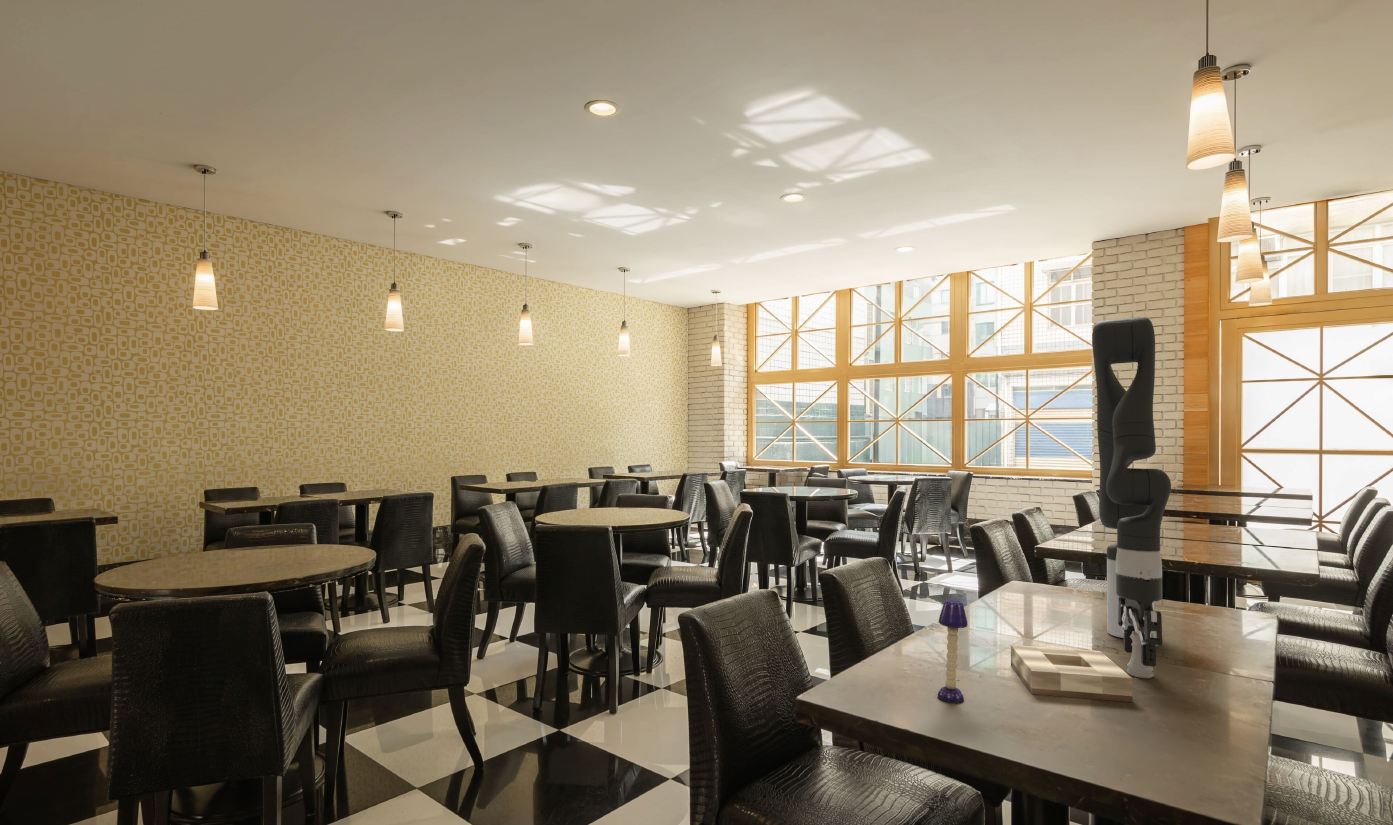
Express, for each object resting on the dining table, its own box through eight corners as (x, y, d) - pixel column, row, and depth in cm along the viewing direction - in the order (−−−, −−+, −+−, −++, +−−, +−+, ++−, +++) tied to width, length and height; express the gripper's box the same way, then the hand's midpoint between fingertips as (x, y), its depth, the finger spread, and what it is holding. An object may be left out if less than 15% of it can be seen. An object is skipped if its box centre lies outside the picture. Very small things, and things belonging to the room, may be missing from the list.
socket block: (1010, 665, 140) (1010, 644, 140) (1099, 672, 136) (1099, 650, 137) (1031, 693, 124) (1031, 670, 124) (1132, 702, 121) (1132, 678, 121)
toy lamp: (967, 696, 122) (966, 599, 123) (967, 705, 118) (967, 604, 119) (937, 692, 124) (937, 596, 125) (937, 702, 120) (937, 602, 120)
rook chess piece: (1158, 680, 132) (1157, 636, 133) (1131, 678, 133) (1131, 635, 133) (1148, 672, 137) (1147, 630, 137) (1122, 670, 138) (1122, 628, 138)
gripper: (1103, 565, 143) (1104, 647, 143) (1131, 578, 129) (1132, 668, 129) (1145, 567, 142) (1145, 650, 141) (1177, 581, 128) (1178, 672, 127)
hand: (1139, 658), depth 135 cm, fingers open, 8 cm apart
